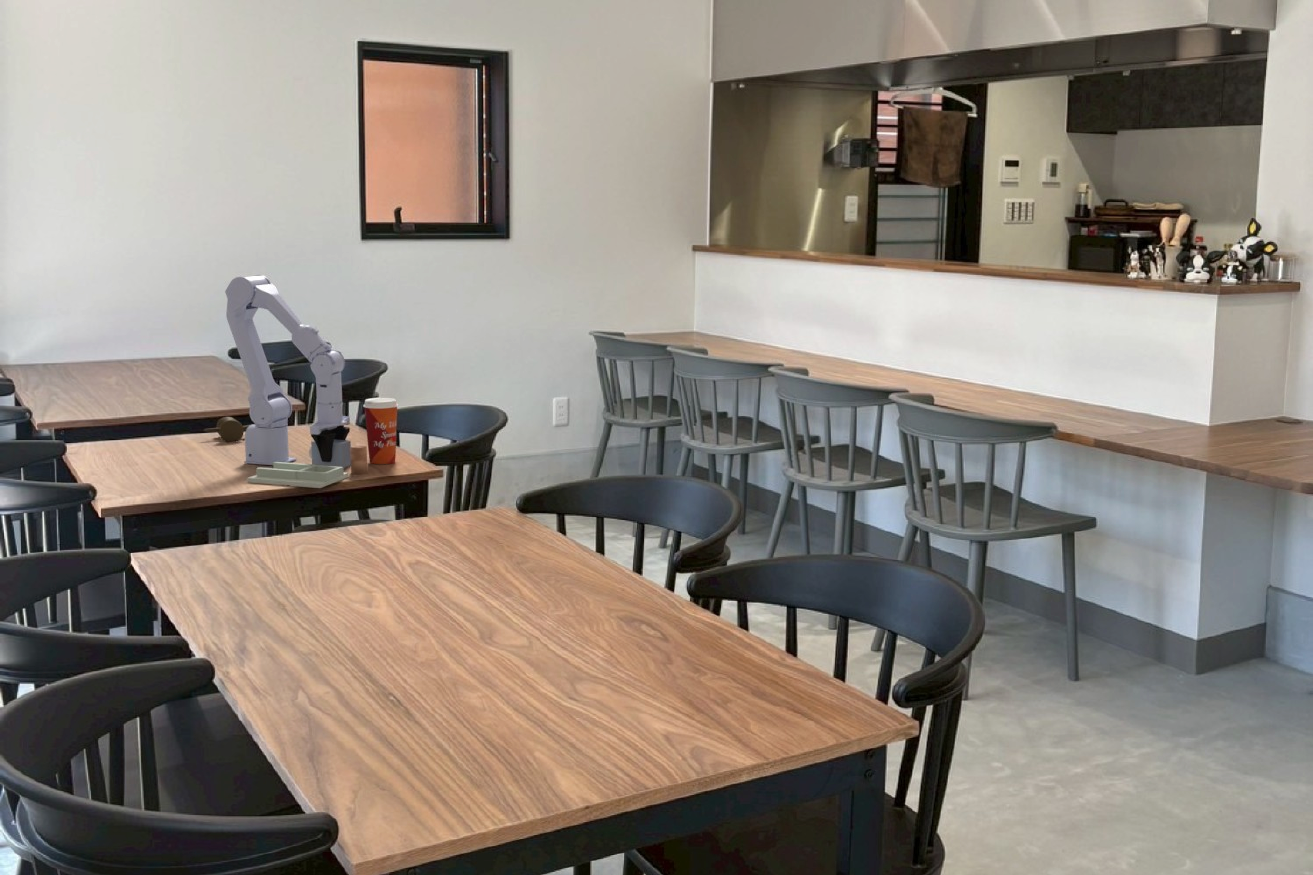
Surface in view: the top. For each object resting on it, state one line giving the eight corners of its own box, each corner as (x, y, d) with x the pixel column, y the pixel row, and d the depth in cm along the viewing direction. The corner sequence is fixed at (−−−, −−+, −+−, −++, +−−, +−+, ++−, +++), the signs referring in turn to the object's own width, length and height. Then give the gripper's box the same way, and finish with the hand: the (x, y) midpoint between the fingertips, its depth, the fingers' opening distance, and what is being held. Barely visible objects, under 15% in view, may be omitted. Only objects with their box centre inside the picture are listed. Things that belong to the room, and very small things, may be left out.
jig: (247, 482, 282) (246, 469, 282) (278, 471, 293) (277, 459, 293) (320, 488, 277) (320, 475, 277) (349, 477, 289) (348, 465, 288)
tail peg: (348, 473, 292) (347, 448, 291) (356, 470, 295) (355, 445, 294) (362, 475, 291) (361, 449, 290) (370, 471, 294) (369, 446, 293)
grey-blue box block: (308, 466, 300) (307, 441, 299) (317, 463, 304) (316, 438, 303) (342, 468, 298) (341, 443, 297) (351, 465, 302) (350, 440, 300)
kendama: (286, 441, 334) (206, 444, 326) (280, 436, 343) (201, 439, 334) (286, 418, 333) (205, 421, 325) (280, 413, 342) (201, 416, 333)
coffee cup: (380, 466, 300) (378, 403, 297) (357, 462, 305) (355, 400, 302) (407, 461, 307) (406, 399, 304) (384, 457, 312) (383, 396, 309)
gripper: (328, 408, 290) (330, 466, 293) (360, 399, 304) (362, 455, 306) (301, 406, 292) (303, 464, 294) (333, 397, 306) (335, 453, 308)
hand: (331, 459), depth 300 cm, fingers closed on grey-blue box block, 4 cm apart
